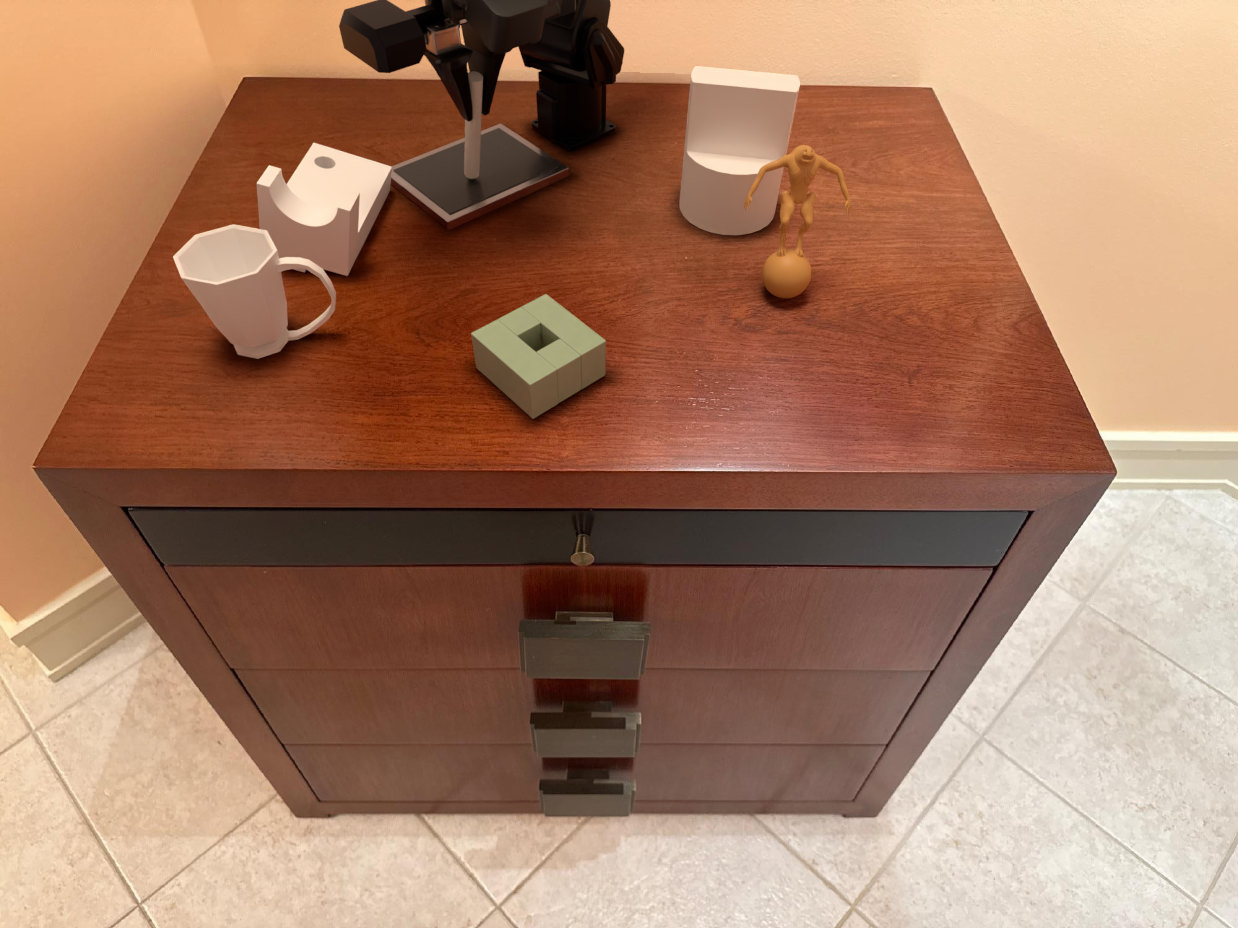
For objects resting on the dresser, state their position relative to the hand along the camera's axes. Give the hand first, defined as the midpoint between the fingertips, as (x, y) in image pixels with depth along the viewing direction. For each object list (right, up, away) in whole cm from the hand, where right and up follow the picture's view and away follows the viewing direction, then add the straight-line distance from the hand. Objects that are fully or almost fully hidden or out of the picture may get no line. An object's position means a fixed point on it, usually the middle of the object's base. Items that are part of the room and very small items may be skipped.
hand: (475, 116), depth 70 cm
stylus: (-1, -3, +6) cm, 7 cm away
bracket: (-12, -9, +2) cm, 16 cm away
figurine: (+26, -15, -1) cm, 30 cm away
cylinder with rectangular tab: (+23, -6, +6) cm, 24 cm away
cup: (-14, -20, -7) cm, 26 cm away
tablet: (-1, -2, +8) cm, 8 cm away
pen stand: (+6, -23, -9) cm, 26 cm away
